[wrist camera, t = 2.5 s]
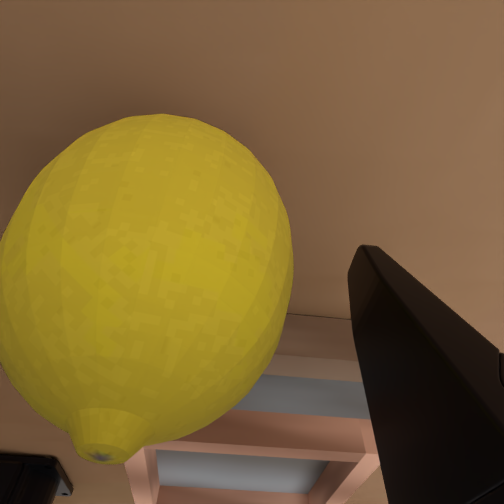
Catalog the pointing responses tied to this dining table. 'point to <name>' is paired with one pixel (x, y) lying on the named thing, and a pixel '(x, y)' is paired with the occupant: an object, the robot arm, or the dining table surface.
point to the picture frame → (275, 432)
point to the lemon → (143, 283)
